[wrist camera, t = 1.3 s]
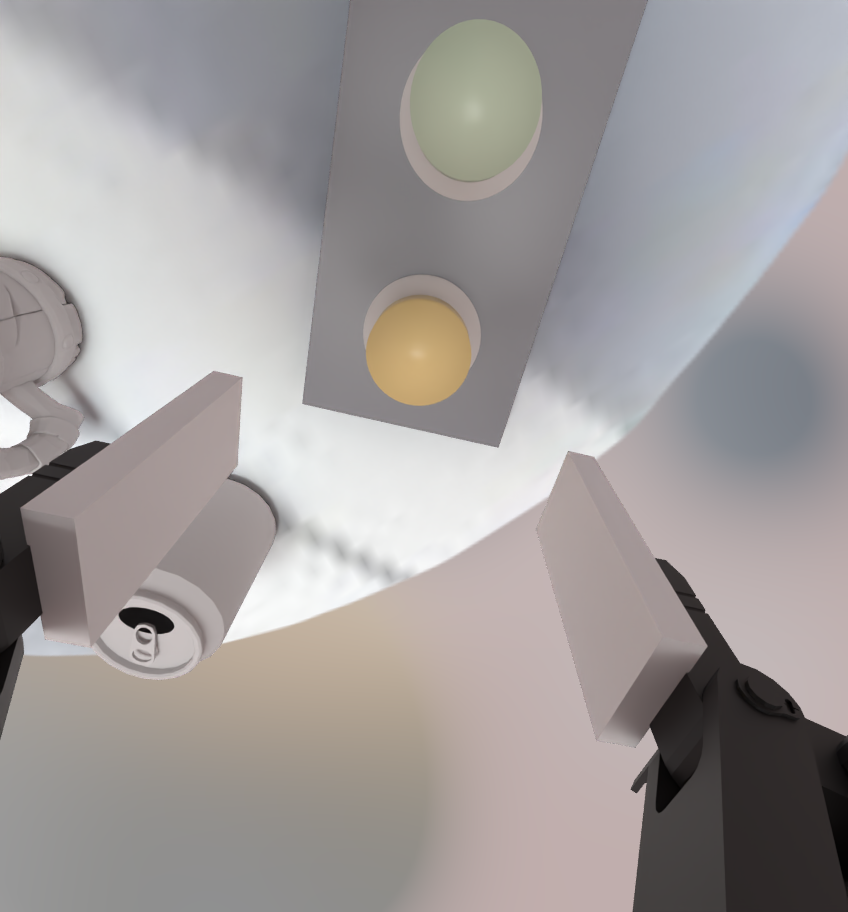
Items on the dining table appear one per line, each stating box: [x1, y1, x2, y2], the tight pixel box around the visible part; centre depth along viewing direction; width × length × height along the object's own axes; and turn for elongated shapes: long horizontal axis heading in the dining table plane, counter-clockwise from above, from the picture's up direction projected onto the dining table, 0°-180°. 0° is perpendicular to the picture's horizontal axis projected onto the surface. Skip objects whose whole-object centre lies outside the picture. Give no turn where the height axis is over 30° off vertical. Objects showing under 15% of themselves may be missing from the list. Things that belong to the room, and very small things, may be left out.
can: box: [92, 479, 276, 680], centre depth 31 cm, size 8×8×12 cm
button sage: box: [410, 19, 542, 182], centre depth 19 cm, size 5×5×2 cm
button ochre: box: [366, 295, 471, 406], centre depth 24 cm, size 5×5×2 cm
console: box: [302, 0, 648, 447], centre depth 23 cm, size 31×12×3 cm, turn 167°
